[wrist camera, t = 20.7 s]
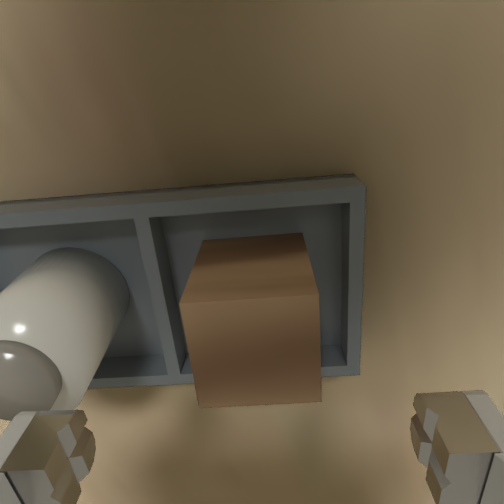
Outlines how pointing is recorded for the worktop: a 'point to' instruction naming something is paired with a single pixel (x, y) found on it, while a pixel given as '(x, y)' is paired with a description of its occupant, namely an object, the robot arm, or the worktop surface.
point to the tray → (184, 255)
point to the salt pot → (57, 329)
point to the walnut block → (253, 322)
